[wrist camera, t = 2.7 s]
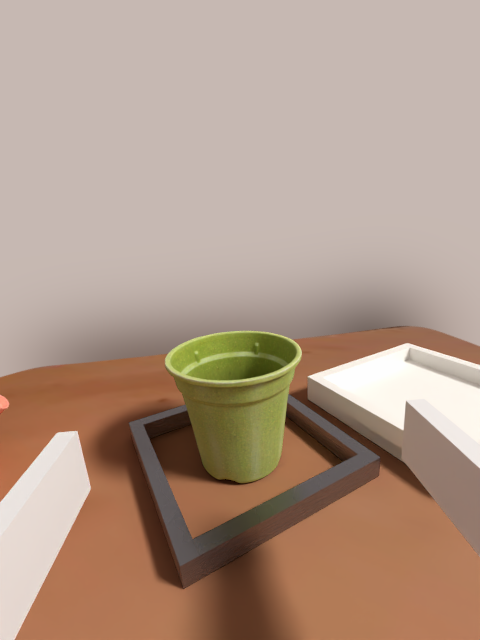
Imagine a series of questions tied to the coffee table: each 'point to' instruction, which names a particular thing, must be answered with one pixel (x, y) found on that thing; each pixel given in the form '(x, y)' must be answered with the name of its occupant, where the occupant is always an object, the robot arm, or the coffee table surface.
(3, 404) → the pink cube teapot
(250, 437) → the plant pot
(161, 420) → the grey square frame
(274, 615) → the coffee table surface
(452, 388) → the tray
